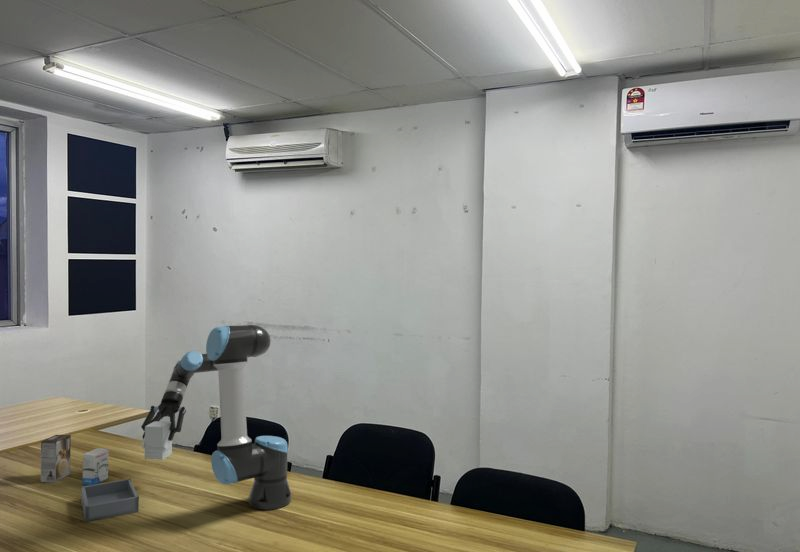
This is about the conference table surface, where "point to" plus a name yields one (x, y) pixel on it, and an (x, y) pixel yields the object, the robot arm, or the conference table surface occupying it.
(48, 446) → the coffee box
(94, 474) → the ink box
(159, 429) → the supplement box
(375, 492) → the conference table surface
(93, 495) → the tote
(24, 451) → the conference table surface
